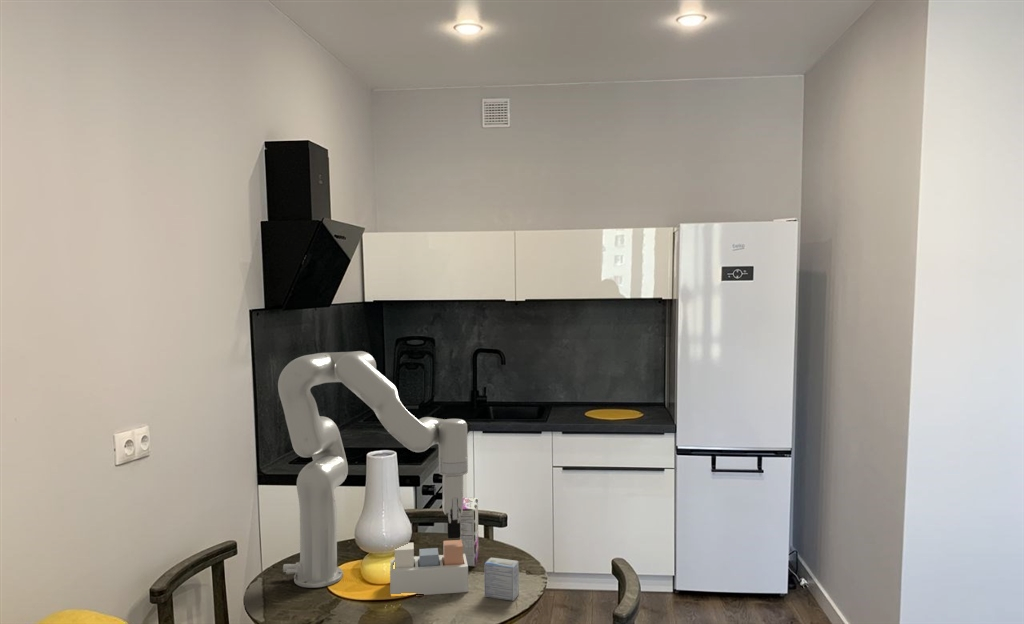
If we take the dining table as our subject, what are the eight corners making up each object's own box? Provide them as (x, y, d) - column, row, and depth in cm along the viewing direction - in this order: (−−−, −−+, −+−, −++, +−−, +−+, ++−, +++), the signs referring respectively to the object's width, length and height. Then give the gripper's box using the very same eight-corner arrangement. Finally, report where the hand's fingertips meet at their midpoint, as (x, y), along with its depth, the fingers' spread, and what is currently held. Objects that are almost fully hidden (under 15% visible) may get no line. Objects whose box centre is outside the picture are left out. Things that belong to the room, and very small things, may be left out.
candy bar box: (462, 552, 196) (462, 497, 196) (478, 552, 196) (478, 497, 196) (458, 567, 185) (458, 508, 185) (476, 567, 185) (476, 508, 185)
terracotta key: (444, 571, 170) (444, 547, 170) (443, 564, 175) (443, 540, 175) (463, 570, 171) (463, 546, 171) (461, 563, 176) (461, 539, 176)
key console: (390, 597, 166) (390, 571, 166) (391, 582, 175) (390, 557, 175) (468, 591, 169) (468, 566, 169) (465, 577, 178) (464, 553, 178)
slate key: (419, 580, 169) (419, 555, 169) (419, 572, 174) (419, 549, 174) (438, 578, 170) (438, 554, 170) (437, 571, 175) (437, 547, 175)
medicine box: (519, 594, 168) (519, 560, 168) (513, 601, 164) (513, 567, 164) (490, 590, 170) (490, 556, 170) (483, 597, 166) (483, 563, 166)
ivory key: (394, 574, 168) (394, 550, 168) (395, 567, 173) (395, 543, 173) (413, 573, 169) (413, 549, 169) (413, 566, 174) (413, 542, 174)
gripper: (437, 461, 180) (438, 528, 180) (440, 475, 165) (441, 548, 165) (465, 459, 181) (465, 526, 181) (470, 473, 166) (471, 546, 166)
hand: (454, 536), depth 173 cm, fingers closed
